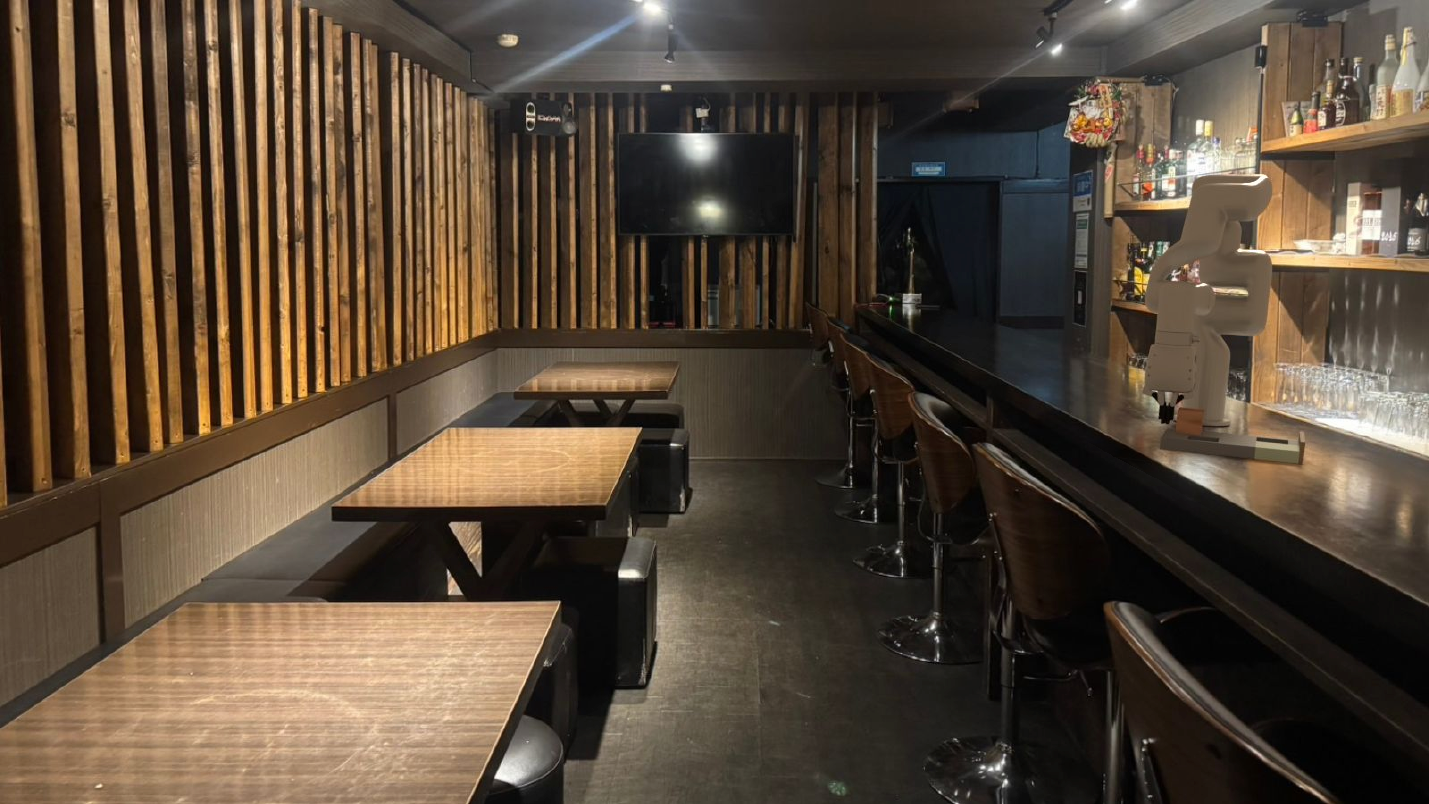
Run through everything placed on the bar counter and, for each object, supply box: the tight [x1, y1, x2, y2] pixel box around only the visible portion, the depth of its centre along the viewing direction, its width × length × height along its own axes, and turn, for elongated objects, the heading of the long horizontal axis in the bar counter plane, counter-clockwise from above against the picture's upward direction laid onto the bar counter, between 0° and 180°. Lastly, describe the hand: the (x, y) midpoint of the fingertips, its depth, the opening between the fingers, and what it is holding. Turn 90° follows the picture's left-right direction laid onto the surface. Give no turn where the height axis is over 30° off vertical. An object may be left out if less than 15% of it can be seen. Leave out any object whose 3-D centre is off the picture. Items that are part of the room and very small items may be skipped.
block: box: [1175, 406, 1204, 435], centre depth 241 cm, size 5×5×5 cm
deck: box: [1159, 427, 1306, 465], centre depth 235 cm, size 15×27×4 cm, turn 63°
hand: (1165, 423), depth 243 cm, fingers closed
